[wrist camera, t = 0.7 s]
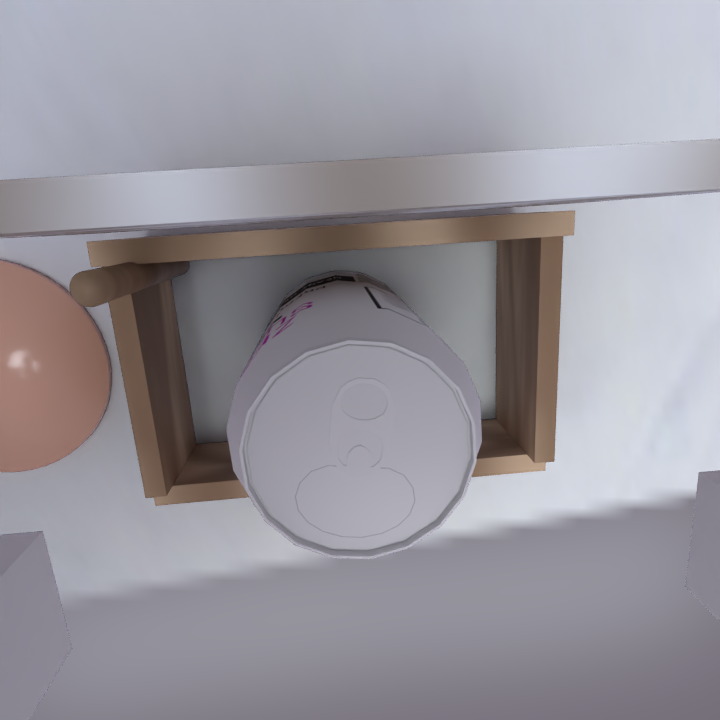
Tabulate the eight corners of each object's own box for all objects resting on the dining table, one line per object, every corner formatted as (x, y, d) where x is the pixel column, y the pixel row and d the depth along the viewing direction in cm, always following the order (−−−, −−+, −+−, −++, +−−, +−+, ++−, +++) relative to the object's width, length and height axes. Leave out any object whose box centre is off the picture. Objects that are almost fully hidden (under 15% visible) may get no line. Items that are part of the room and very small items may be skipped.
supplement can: (405, 412, 31) (478, 578, 17) (266, 405, 30) (214, 572, 16) (420, 276, 29) (518, 329, 14) (271, 264, 28) (218, 308, 14)
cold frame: (181, 461, 31) (-55, 862, 11) (141, 215, 27) (-309, 197, 8) (511, 432, 32) (803, 757, 12) (515, 192, 28) (937, 126, 9)
